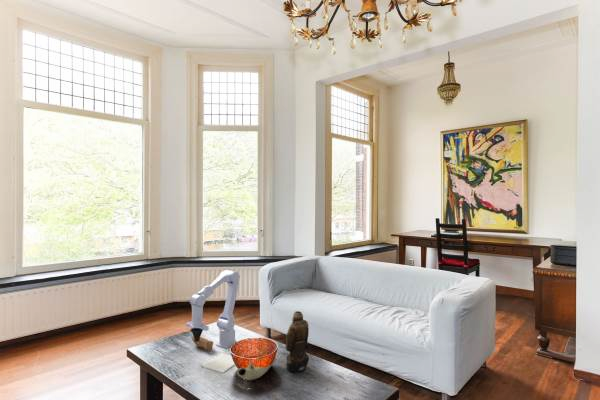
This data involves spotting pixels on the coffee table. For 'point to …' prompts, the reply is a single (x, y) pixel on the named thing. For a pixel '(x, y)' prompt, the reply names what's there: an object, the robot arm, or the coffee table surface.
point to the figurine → (204, 343)
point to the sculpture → (297, 344)
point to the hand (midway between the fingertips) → (197, 341)
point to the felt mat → (220, 363)
